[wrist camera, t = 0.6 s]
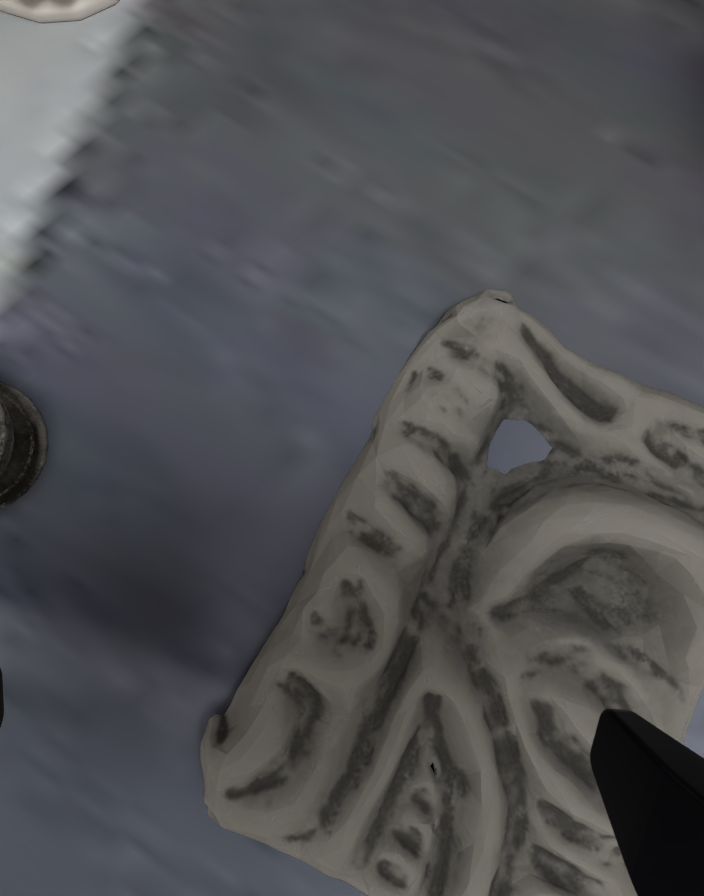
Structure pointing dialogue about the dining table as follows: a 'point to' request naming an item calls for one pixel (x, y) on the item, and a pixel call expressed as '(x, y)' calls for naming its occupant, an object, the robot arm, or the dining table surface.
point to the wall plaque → (476, 627)
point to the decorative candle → (54, 9)
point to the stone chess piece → (19, 444)
